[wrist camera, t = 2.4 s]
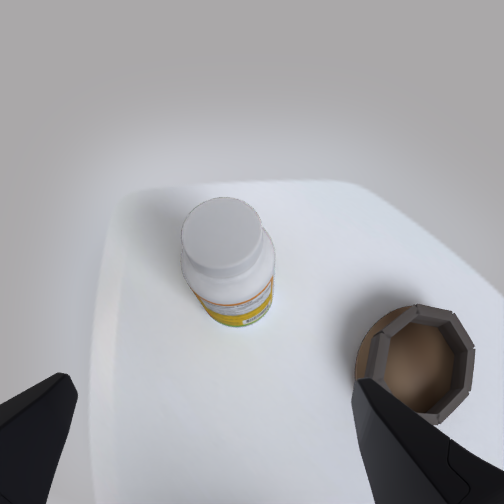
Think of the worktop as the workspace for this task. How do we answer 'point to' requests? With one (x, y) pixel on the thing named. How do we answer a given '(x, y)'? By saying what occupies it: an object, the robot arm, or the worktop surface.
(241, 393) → the worktop surface
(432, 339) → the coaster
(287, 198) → the worktop surface
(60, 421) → the robot arm
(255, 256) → the supplement bottle
